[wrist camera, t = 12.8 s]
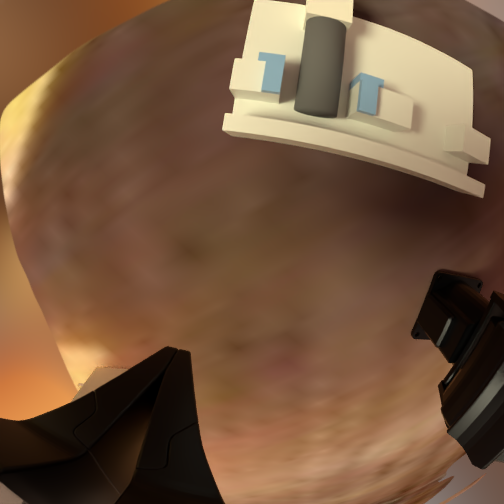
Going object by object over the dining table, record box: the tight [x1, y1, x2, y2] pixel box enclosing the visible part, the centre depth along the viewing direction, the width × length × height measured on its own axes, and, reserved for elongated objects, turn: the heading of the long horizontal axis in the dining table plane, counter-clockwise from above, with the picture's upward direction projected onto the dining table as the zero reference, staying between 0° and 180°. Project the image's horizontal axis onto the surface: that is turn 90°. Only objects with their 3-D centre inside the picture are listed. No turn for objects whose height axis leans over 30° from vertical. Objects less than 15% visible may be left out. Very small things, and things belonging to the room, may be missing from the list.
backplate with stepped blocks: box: [222, 0, 491, 198], centre depth 14 cm, size 18×11×4 cm, turn 81°
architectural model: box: [71, 367, 128, 402], centre depth 23 cm, size 3×7×7 cm, turn 100°
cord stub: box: [294, 0, 353, 118], centre depth 13 cm, size 3×10×3 cm, turn 171°
